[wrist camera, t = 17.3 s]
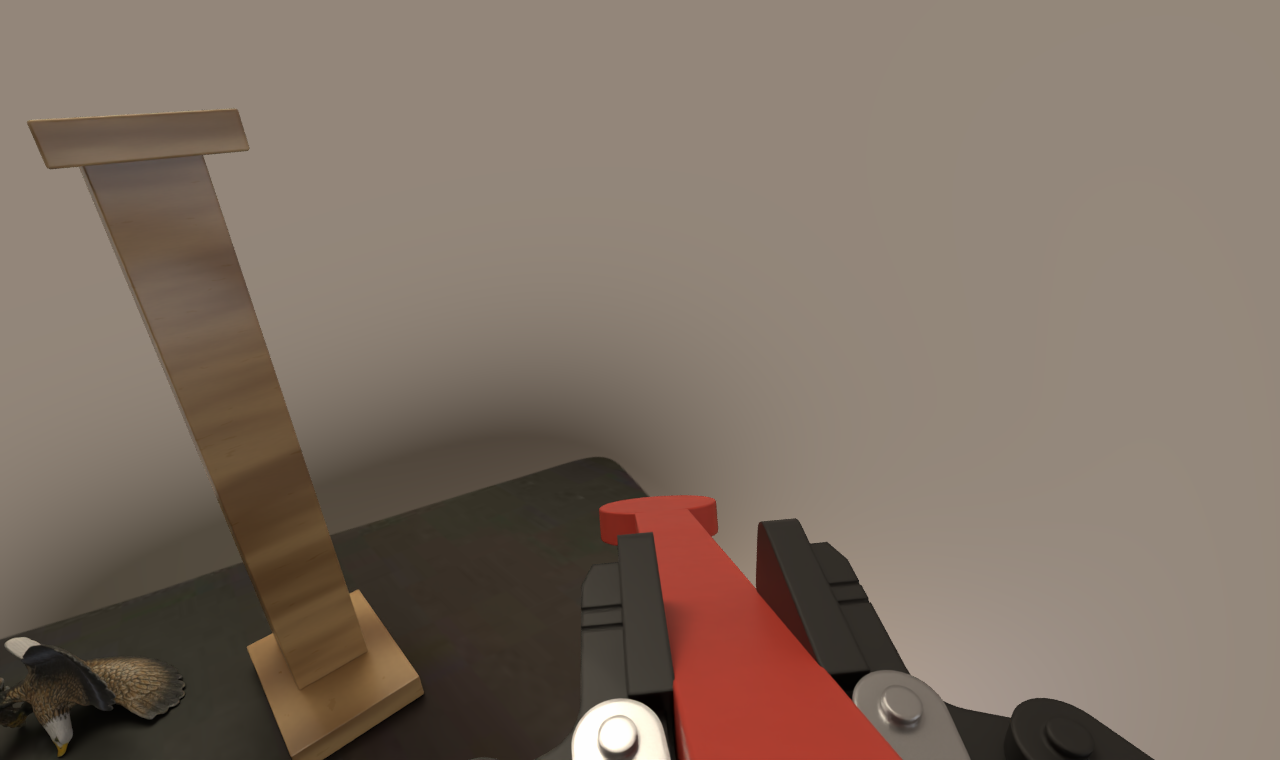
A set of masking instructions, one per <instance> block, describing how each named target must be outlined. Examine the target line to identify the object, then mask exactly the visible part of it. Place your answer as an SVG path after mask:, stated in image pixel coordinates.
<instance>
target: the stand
mask: <svg viewBox="0 0 1280 760" xmlns="http://www.w3.org/2000/svg"><path fill="white" fill-rule="evenodd" d="M27 124H28V126H29V129H30V131H31V133H32V135H33V138H34V140H35V142H36V145H37V147H38V149H39V152H40V154H41V156H42V158H43V161H44V163H45V165H46V167H47V168H49V169H59V168H70V167H79V168H80V171H81V173H82V175H83V178H84V180H85V182H86V185H87V187H88V190H89V192H90V194H91V197H92V200H93V202H94V204H95V207H96V209H97V211H98V214H99V216H100V218H101V221H102V224H103V226H104V228H105V231H106V233H107V236H108V238H109V240H110V243H111V245H112V247H113V250H114V252H115V255H116V257H117V259H118V262H119V264H120V267H121V269H122V272H123V274H124V276H125V279H126V281H127V283H128V286H129V289H130V291H131V293H132V296H133V298H134V300H135V303H136V305H137V308H138V310H139V313H140V315H141V317H142V320H143V322H144V324H145V327H146V329H147V332H148V334H149V337H150V339H151V341H152V344H153V346H154V349H155V351H156V353H157V356H158V358H159V361H160V363H161V365H162V368H163V370H164V373H165V375H166V377H167V380H168V382H169V385H170V387H171V389H172V392H173V394H174V397H175V399H176V402H177V404H178V406H179V408H180V411H181V414H182V416H183V418H184V421H185V423H186V426H187V428H188V430H189V433H190V435H191V438H192V440H193V442H194V445H195V447H196V450H197V452H198V454H199V457H200V459H201V462H202V464H203V466H204V469H205V471H206V474H207V476H208V479H209V481H210V483H211V485H212V488H213V491H214V493H215V495H216V498H217V500H218V503H219V505H220V507H221V510H222V512H223V515H224V517H225V519H226V522H227V524H228V527H229V529H230V532H231V534H232V536H233V539H234V541H235V544H236V546H237V548H238V551H239V553H240V555H241V558H242V560H243V563H244V565H245V568H246V570H247V572H248V575H249V577H250V580H251V582H252V584H253V587H254V589H255V592H256V594H257V596H258V599H259V601H260V604H261V606H262V609H263V611H264V613H265V616H266V618H267V621H268V623H269V625H270V628H271V630H272V633H273V634H271V635H269V636H267V637H265V638H263V639H261V640H259V641H257V642H255V643H253V644H251V645H249V646H247V649H248V652H249V654H250V657H251V659H252V662H253V664H254V667H255V669H256V672H257V674H258V677H259V679H260V682H261V684H262V687H263V689H264V692H265V694H266V697H267V699H268V702H269V704H270V707H271V709H272V711H273V714H274V716H275V719H276V721H277V724H278V726H279V729H280V731H281V734H282V736H283V739H284V741H285V744H286V746H287V749H288V751H289V754H290V756H291V759H292V760H323V759H325V758H326V757H328V756H329V755H331V754H332V753H334V752H335V751H337V750H339V749H340V748H342V747H343V746H345V745H346V744H348V743H349V742H351V741H352V740H354V739H355V738H357V737H358V736H360V735H362V734H363V733H365V732H366V731H368V730H369V729H371V728H372V727H374V726H375V725H377V724H378V723H380V722H382V721H383V720H385V719H386V718H388V717H389V716H391V715H392V714H394V713H395V712H397V711H398V710H400V709H401V708H403V707H405V706H406V705H408V704H409V703H411V702H412V701H414V700H415V699H417V698H418V697H420V696H421V695H423V694H424V691H423V688H422V684H421V681H420V678H419V675H418V674H417V672H416V671H415V670H414V668H413V667H412V665H411V664H410V662H409V661H408V660H407V658H406V657H405V655H404V654H403V652H402V651H401V650H400V648H399V647H398V645H397V644H396V642H395V641H394V639H393V638H392V637H391V635H390V634H389V632H388V631H387V629H386V628H385V627H384V625H383V624H382V622H381V621H380V619H379V618H378V617H377V615H376V614H375V612H374V611H373V609H372V608H371V606H370V605H369V604H368V602H367V601H366V599H365V598H364V596H363V595H362V594H361V592H360V591H359V590H356V591H354V592H352V593H350V594H349V592H348V589H347V586H346V583H345V580H344V577H343V574H342V571H341V568H340V565H339V562H338V559H337V556H336V553H335V550H334V547H333V544H332V541H331V538H330V535H329V532H328V529H327V526H326V523H325V520H324V517H323V514H322V511H321V508H320V505H319V502H318V499H317V496H316V493H315V490H314V487H313V484H312V481H311V478H310V475H309V472H308V469H307V466H306V463H305V460H304V457H303V454H302V451H301V448H300V445H299V442H298V439H297V436H296V433H295V430H294V427H293V424H292V421H291V418H290V415H289V412H288V409H287V406H286V403H285V400H284V397H283V394H282V391H281V388H280V385H279V382H278V379H277V376H276V373H275V370H274V367H273V364H272V361H271V358H270V355H269V352H268V349H267V346H266V343H265V340H264V337H263V334H262V331H261V328H260V325H259V322H258V319H257V316H256V313H255V310H254V307H253V304H252V301H251V298H250V295H249V292H248V289H247V286H246V283H245V280H244V277H243V274H242V271H241V268H240V265H239V262H238V259H237V256H236V253H235V250H234V247H233V244H232V241H231V238H230V235H229V232H228V229H227V226H226V223H225V220H224V217H223V214H222V211H221V208H220V205H219V202H218V199H217V196H216V193H215V190H214V187H213V184H212V181H211V178H210V175H209V172H208V169H207V166H206V163H205V160H204V157H203V155H209V154H220V153H230V152H241V151H248V150H249V145H248V142H247V138H246V135H245V132H244V128H243V125H242V122H241V119H240V115H239V112H238V110H237V109H235V108H234V109H216V110H198V111H180V112H162V113H146V114H127V115H110V116H92V117H74V118H56V119H38V120H29V121H27Z"/></svg>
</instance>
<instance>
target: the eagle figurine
mask: <svg viewBox="0 0 1280 760" xmlns="http://www.w3.org/2000/svg"><path fill="white" fill-rule="evenodd" d="M5 647H6V649H7V650H8V651H9V652H10V653H11V654H13V655H14V656H15V657H17V658H18V659H20V660H21V661H22V662H23V663H24V664H25V666H26V668H27V669H28V675H27V677H26V679H24V680H22V681H21V682H19V683H18V684H16V685H14V686H13V687H11V688H10V687H9V686H6V687H5V688H4V687H3V686H4V679H3V678H0V724H2V725H3V726H4V727H8V726H9V727H10V728H14V727H19V728H20V727H22V726H25V725H26V721H25V719H26V717H27V716H28V715H29V714H30V713H32V712H34V714H35V716H36V717H37V719H38V721H39V722H40V723H41V724H42V726H43V727H44V728H45V730H46V731H47V732H48V734H49V735H50V737H51V739H52V741H53V742H54V744H55V745H56V746H57V749H58V754H57V756H58V757H59V756H62V755H63V754H65V752H66V749H67V745H68V743H69V741H70V740H71V739H72V736H73V730H72V725H71V720H70V709H71V708H72V707H73V706H74V705H76V704H80V705H83V706H88V705H94V706H95V707H96V708H97V709H100V710H103V711H111V710H112V709H113V706H112V704H117V705H121V706H123V707H124V708H126V709H128V710H129V711H130V712H132V713H135V714H136V715H138V716H140V717H141V718H145V719H148V720H151V719H153V718H154V717H155V716H156V715H159V714H164V713H166V712H167V711H168V708H169V707H173V706H176V705H177V704H178V703H179V702H180V701H179V699H180V698H182V697H183V696H184V695H185V692H184V691H183V690H182V688H183V687H185V683H184V682H183V681H181V680H178V679H180V678H182V675H181V674H178V673H177V672H178V670H177V669H176V668H174V667H173V666H172V665H168V664H167V663H166V662H162V661H159V660H158V659H149V658H145V657H133V656H130V657H128V656H120V657H119V656H115V657H108V658H105V657H103V658H96V659H92V660H86V661H83V660H81V659H79V658H78V657H76V656H74V655H73V654H71V653H69V652H67V651H66V650H64V649H61V648H59V647H55V646H50V645H43V644H39V643H38V642H36V641H32V640H30V639H29V638H25V637H21V638H13V639H11V640H8V641H7V642H6V643H5ZM23 701H25V702H24V703H23V704H22V706H21V708H13V707H12V704H14V703H16V702H23Z"/></svg>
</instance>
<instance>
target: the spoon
mask: <svg viewBox="0 0 1280 760" xmlns="http://www.w3.org/2000/svg"><path fill="white" fill-rule="evenodd" d="M599 514H600V529H601V539H602V541H603V542H605V543H608V544H611V545H616V546H618V542H617V535H624V534H635V533H645V532H653V535H654V542H655V548H656V555H657V562H658V569H659V575H660V582H661V589H662V596H663V603H664V609H665V616H666V623H667V630H668V636H669V643H670V650H671V657H672V663H673V670H674V677H675V679H674V680H673V702H674V737H675V757H676V760H903V759H902V758H901V757H900V756H899V755H898V754H897V752H896V751H895V750H894V749H893V748H892V747H891V745H890V744H889V743H888V742H887V741H886V740H885V738H884V737H883V736H882V735H881V734H880V733H879V731H878V730H877V729H876V728H875V727H874V726H873V724H872V723H871V722H870V721H869V720H868V719H867V717H866V716H865V715H864V714H863V713H862V712H861V711H860V709H859V708H858V707H857V706H856V705H855V704H854V702H853V701H852V700H851V699H850V698H849V697H848V695H847V694H846V693H845V692H844V691H843V690H842V688H841V687H840V686H839V685H838V684H837V683H836V681H835V680H834V679H833V678H832V677H831V676H830V674H829V673H828V672H827V671H826V670H825V669H824V668H823V667H821V666H819V665H818V663H817V662H816V661H815V660H814V659H813V657H812V656H811V655H810V654H809V653H808V651H807V650H806V649H805V648H804V647H803V646H802V644H801V643H800V642H799V641H798V640H797V638H796V637H795V636H794V635H793V634H792V633H791V631H790V630H789V629H788V628H787V627H786V625H785V624H784V623H783V622H782V621H781V620H780V618H779V617H778V616H777V615H776V614H775V612H774V611H773V610H772V609H771V608H770V606H769V605H768V604H767V603H766V602H765V601H764V599H763V598H762V597H761V596H760V595H759V593H758V592H757V589H756V588H755V587H754V586H753V585H752V584H751V583H750V581H749V580H748V579H747V578H746V577H745V576H744V574H743V573H742V572H741V571H740V570H739V568H738V567H737V566H736V565H735V564H734V563H733V561H732V560H731V559H730V558H729V557H728V556H727V554H726V553H725V552H724V551H723V550H722V549H721V548H720V546H719V545H718V544H717V543H716V542H715V541H714V539H713V538H712V536H713V535H715V534H716V533H717V532H718V521H717V509H716V501H715V499H713V498H710V497H704V496H687V495H681V496H657V497H645V498H636V499H629V500H623V501H617V502H613V503H609V504H606V505H604V506H602V507H600V509H599Z"/></svg>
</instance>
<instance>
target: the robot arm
mask: <svg viewBox="0 0 1280 760" xmlns="http://www.w3.org/2000/svg"><path fill="white" fill-rule="evenodd" d="M617 542H618V557H619V562H614V563H604V564H594V565H592V566H591V568H590V570H589V572H588V574H587V576H586V578H585V580H584V582H583V583H582V588H581V610H582V613H581V702H580V711H579V715H578V718H577V720H576V723H575V725H574V727H573V728H572V730H571V732H570V733H569V734H568V736H567V737H566V738H565V739H564V740H563V741H562V742H561V743H560V744H559V745H558V746H557V747H556V748H554V749H553V750H551V751H550V752H548V753H547V754H545V755H543V756H541V757H539V758H537V759H534V760H676V757H675V737H674V702H673V680H674V679H675V677H674V670H673V663H672V657H671V650H670V643H669V636H668V630H667V623H666V616H665V609H664V603H663V596H662V589H661V582H660V575H659V569H658V562H657V555H656V548H655V542H654V535H653V532H645V533H635V534H624V535H617ZM756 589H757V592H758V593H759V595H760V596H761V597H762V598H763V599H764V601H765V602H766V603H767V604H768V605H769V606H770V608H771V609H772V610H773V611H774V612H775V614H776V615H777V616H778V617H779V618H780V620H781V621H782V622H783V623H784V624H785V625H786V627H787V628H788V629H789V630H790V631H791V633H792V634H793V635H794V636H795V637H796V638H797V640H798V641H799V642H800V643H801V644H802V646H803V647H804V648H805V649H806V650H807V651H808V653H809V654H810V655H811V656H812V657H813V659H814V660H815V661H816V662H817V663H818V665H819V666H821V667H823V668H824V669H825V670H826V671H827V672H828V673H829V674H830V676H831V677H832V678H833V679H834V680H835V681H836V683H837V684H838V685H839V686H840V687H841V688H842V690H843V691H844V692H845V693H846V694H847V695H848V697H849V698H850V699H851V700H852V701H853V702H854V704H855V705H856V706H857V707H858V708H859V709H860V711H861V712H862V713H863V714H864V715H865V716H866V717H867V719H868V720H869V721H870V722H871V723H872V724H873V726H874V727H875V728H876V729H877V730H878V731H879V733H880V734H881V735H882V736H883V737H884V738H885V740H886V741H887V742H888V743H889V744H890V745H891V747H892V748H893V749H894V750H895V751H896V752H897V754H898V755H899V756H900V757H901V758H902V759H903V760H1154V759H1153V758H1151V757H1150V756H1148V755H1147V754H1145V753H1144V752H1142V751H1141V750H1140V749H1138V748H1137V747H1135V746H1134V745H1132V744H1131V743H1130V742H1128V741H1127V740H1125V739H1124V738H1122V737H1121V736H1120V735H1118V734H1117V733H1115V732H1113V731H1112V730H1111V729H1109V728H1108V727H1107V726H1105V725H1104V724H1102V723H1101V722H1099V721H1098V720H1096V719H1095V718H1094V717H1092V716H1091V715H1089V714H1087V713H1086V712H1084V711H1083V710H1081V709H1079V708H1076V707H1075V706H1073V705H1070V704H1067V703H1065V702H1062V701H1058V700H1054V699H1047V698H1035V699H1030V700H1027V701H1024V702H1022V703H1021V704H1019V705H1018V706H1017V707H1016V708H1015V710H1014V712H1013V714H1012V717H1011V718H1009V717H1004V716H999V715H993V714H988V713H983V712H977V711H972V710H967V709H963V708H959V707H956V706H953V705H951V704H948V703H946V702H944V701H943V700H942V699H941V698H940V696H939V695H938V694H937V693H936V692H935V691H934V690H933V689H932V688H931V687H930V686H928V685H927V684H926V683H924V682H923V681H921V680H919V679H918V678H916V677H914V676H911V675H910V673H909V672H908V670H907V669H906V667H905V665H904V663H903V661H902V659H901V658H900V656H899V654H898V652H897V650H896V648H895V646H894V645H893V643H892V641H891V639H890V637H889V635H888V633H887V632H886V630H885V628H884V626H883V624H882V622H881V621H880V619H879V617H878V615H877V613H876V611H875V609H874V608H873V606H872V604H871V603H869V601H868V597H867V595H866V593H865V591H864V589H863V587H862V586H861V585H860V584H859V580H858V578H857V576H856V574H855V572H854V571H853V569H852V567H851V565H850V563H849V561H848V560H847V559H846V558H845V557H844V556H843V555H842V554H840V553H839V552H838V551H837V550H836V549H835V548H834V547H832V546H831V545H830V544H829V543H828V542H823V543H813V544H810V543H809V541H808V539H807V536H806V534H805V532H804V530H803V528H802V526H801V524H800V522H799V521H798V520H797V519H796V518H795V519H784V520H774V521H764V522H760V523H759V525H758V537H757V564H756ZM469 760H497V759H494V758H487V757H482V758H474V759H469Z"/></svg>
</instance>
